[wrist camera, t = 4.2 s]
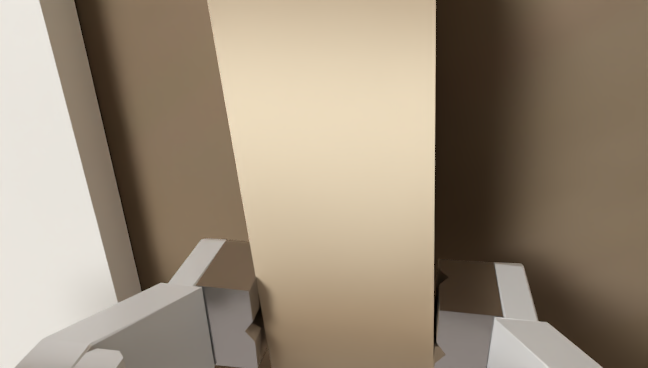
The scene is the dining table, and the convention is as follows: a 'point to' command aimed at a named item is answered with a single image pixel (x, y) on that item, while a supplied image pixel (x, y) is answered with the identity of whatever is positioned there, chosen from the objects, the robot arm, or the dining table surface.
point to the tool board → (54, 183)
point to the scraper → (336, 173)
